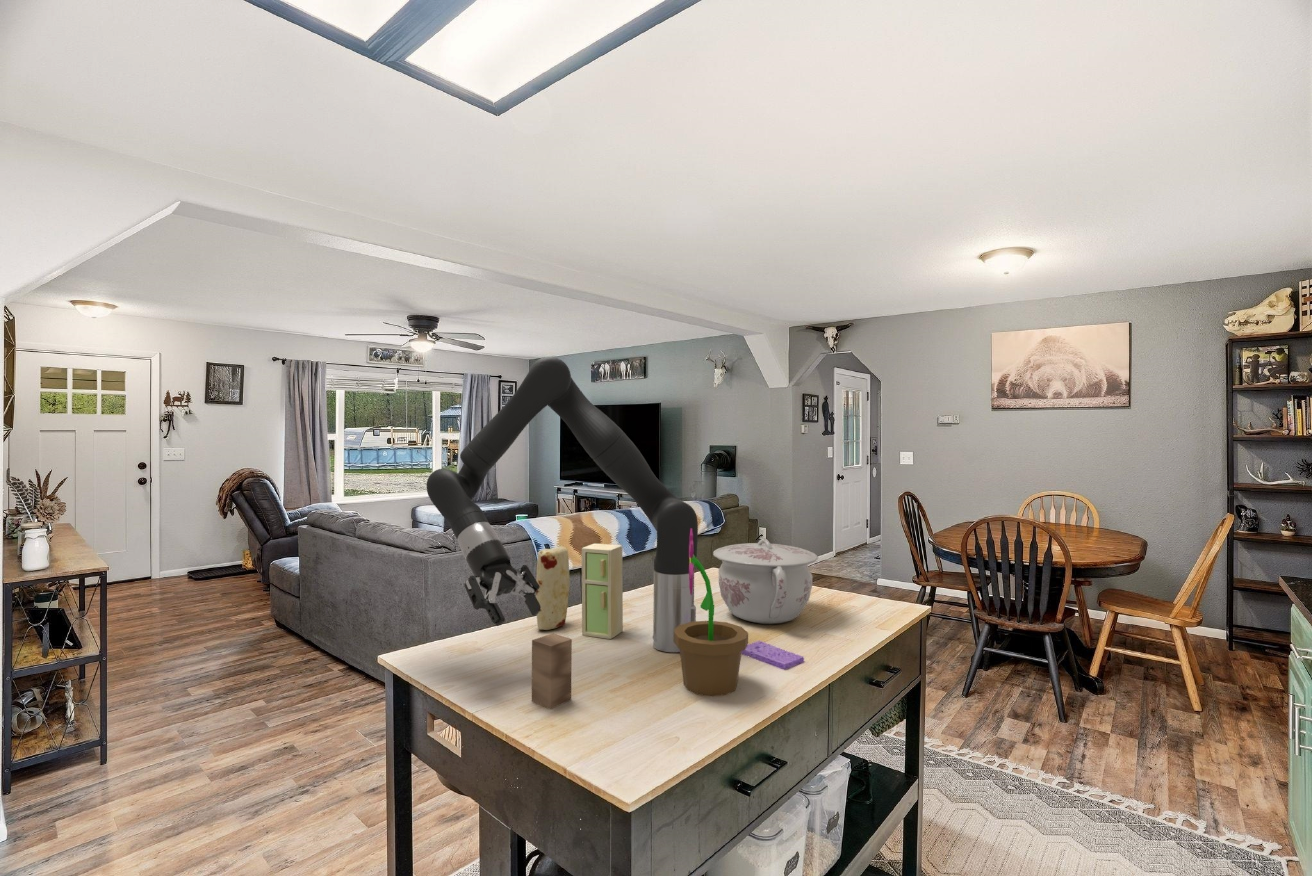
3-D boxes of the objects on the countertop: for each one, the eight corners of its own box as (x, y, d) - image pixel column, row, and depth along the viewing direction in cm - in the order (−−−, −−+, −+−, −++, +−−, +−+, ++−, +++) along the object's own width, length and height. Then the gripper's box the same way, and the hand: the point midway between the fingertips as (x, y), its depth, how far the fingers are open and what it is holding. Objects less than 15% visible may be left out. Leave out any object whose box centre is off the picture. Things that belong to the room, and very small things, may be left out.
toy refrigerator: (579, 636, 147) (579, 547, 147) (593, 627, 154) (594, 542, 154) (609, 640, 144) (610, 550, 144) (623, 631, 151) (623, 545, 151)
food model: (548, 635, 148) (548, 551, 147) (528, 629, 151) (528, 548, 151) (575, 624, 156) (576, 545, 155) (555, 620, 159) (556, 542, 159)
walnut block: (552, 691, 116) (552, 633, 115) (571, 699, 112) (571, 638, 112) (531, 700, 112) (532, 640, 112) (550, 708, 108) (550, 646, 108)
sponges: (759, 648, 141) (759, 640, 141) (805, 664, 132) (805, 655, 132) (738, 655, 137) (738, 646, 137) (784, 672, 127) (784, 663, 127)
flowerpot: (673, 669, 127) (674, 523, 127) (743, 671, 126) (745, 524, 126) (672, 700, 113) (674, 535, 112) (752, 701, 112) (754, 536, 112)
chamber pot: (742, 597, 183) (743, 527, 183) (833, 613, 167) (834, 537, 167) (691, 620, 160) (692, 540, 160) (790, 641, 144) (791, 553, 144)
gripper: (460, 543, 117) (497, 615, 110) (520, 534, 128) (557, 598, 121) (444, 567, 121) (479, 638, 114) (503, 556, 132) (539, 620, 125)
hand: (519, 618), depth 118 cm, fingers open, 8 cm apart
